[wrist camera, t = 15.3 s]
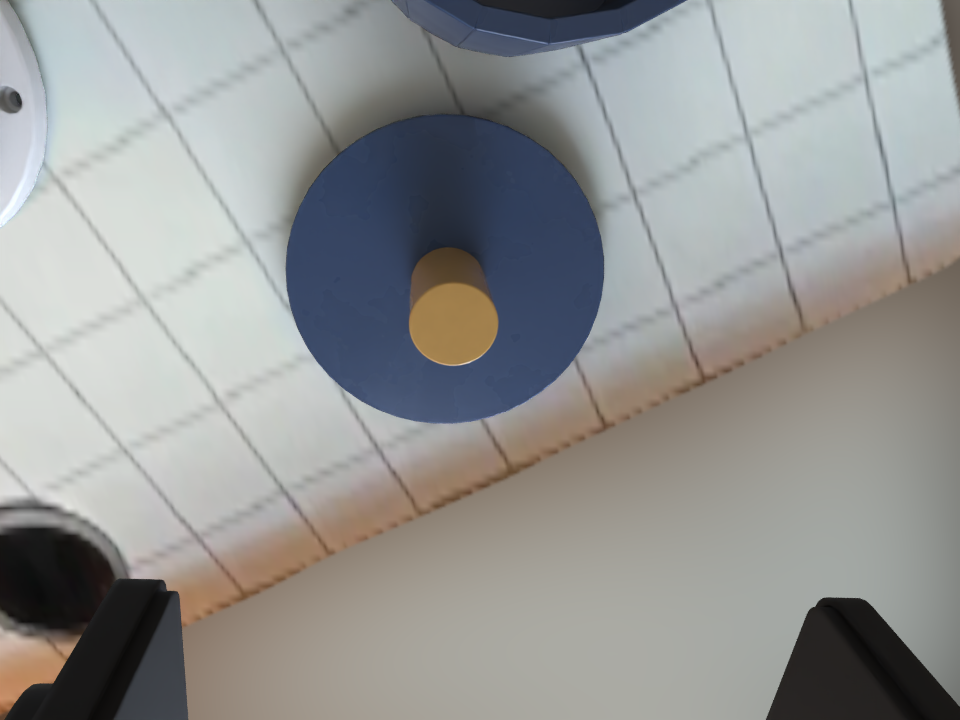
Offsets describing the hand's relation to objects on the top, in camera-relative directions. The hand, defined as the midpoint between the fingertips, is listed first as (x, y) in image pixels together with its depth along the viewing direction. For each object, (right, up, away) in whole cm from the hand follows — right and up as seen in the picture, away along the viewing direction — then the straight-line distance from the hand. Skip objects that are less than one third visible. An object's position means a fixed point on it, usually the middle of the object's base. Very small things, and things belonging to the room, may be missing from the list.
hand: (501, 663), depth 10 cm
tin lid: (-2, +8, +17) cm, 19 cm away
